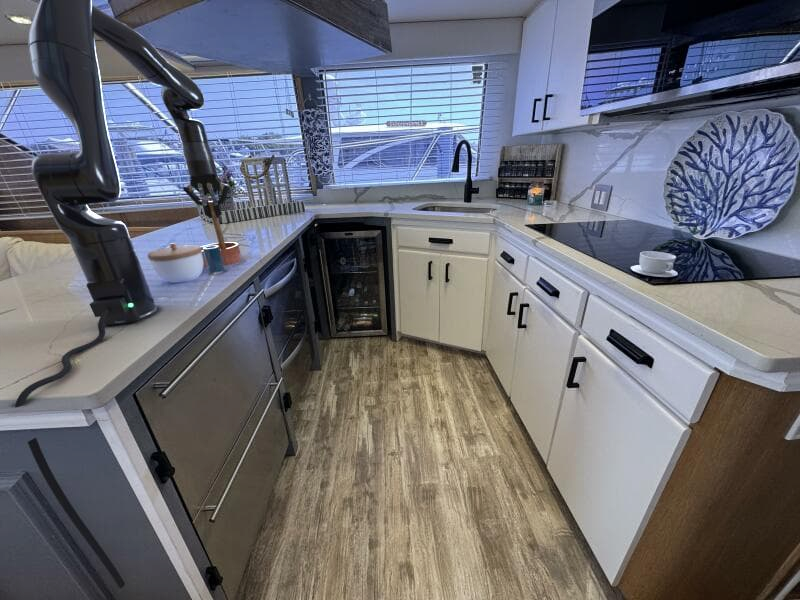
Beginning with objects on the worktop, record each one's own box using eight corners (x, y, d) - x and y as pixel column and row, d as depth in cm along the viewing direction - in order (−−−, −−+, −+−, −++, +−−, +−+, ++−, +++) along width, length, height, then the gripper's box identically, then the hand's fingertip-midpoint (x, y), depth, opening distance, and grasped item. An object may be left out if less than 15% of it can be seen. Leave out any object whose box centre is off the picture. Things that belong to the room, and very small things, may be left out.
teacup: (621, 267, 89) (625, 251, 87) (656, 265, 89) (661, 249, 87) (648, 279, 80) (653, 261, 78) (687, 277, 80) (694, 259, 78)
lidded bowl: (173, 291, 85) (159, 250, 81) (149, 284, 91) (135, 246, 87) (218, 277, 95) (207, 240, 91) (194, 271, 101) (183, 237, 97)
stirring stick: (227, 256, 109) (212, 201, 102) (221, 257, 108) (206, 201, 101) (228, 255, 110) (214, 201, 103) (223, 255, 110) (208, 201, 103)
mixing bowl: (238, 267, 104) (233, 248, 102) (196, 271, 102) (191, 252, 99) (245, 257, 115) (241, 240, 113) (208, 260, 113) (203, 244, 110)
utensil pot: (223, 273, 98) (216, 248, 95) (208, 275, 97) (200, 249, 94) (226, 269, 102) (220, 244, 99) (212, 271, 101) (205, 246, 98)
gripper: (169, 160, 92) (187, 221, 99) (220, 158, 95) (235, 217, 102) (179, 160, 99) (195, 217, 106) (227, 158, 102) (240, 214, 109)
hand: (214, 217), depth 104 cm, fingers closed on stirring stick, 2 cm apart
